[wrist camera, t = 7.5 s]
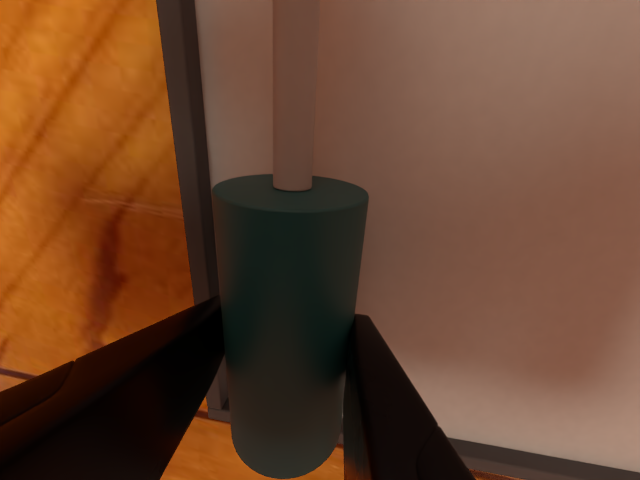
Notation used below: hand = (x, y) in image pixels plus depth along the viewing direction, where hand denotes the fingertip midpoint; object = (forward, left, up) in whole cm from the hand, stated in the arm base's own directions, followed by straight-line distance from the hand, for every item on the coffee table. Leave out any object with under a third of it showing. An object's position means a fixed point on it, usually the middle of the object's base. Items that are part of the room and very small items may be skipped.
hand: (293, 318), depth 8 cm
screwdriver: (+4, 0, -1) cm, 4 cm away
